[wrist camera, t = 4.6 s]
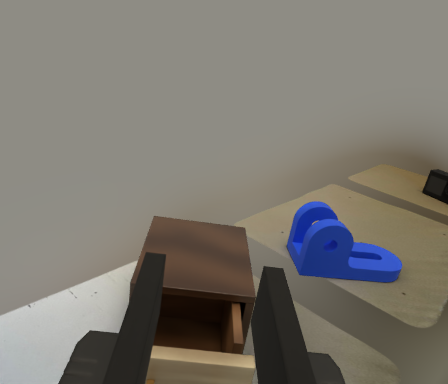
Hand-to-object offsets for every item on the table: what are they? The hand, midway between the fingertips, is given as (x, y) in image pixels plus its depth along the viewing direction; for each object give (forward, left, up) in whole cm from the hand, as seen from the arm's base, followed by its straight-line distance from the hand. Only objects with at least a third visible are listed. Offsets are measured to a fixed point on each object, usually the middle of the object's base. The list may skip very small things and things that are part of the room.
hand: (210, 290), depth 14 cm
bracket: (+46, +2, -22) cm, 52 cm away
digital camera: (+103, -9, -22) cm, 106 cm away
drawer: (+10, +7, -21) cm, 25 cm away
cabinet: (+18, +13, -22) cm, 32 cm away
